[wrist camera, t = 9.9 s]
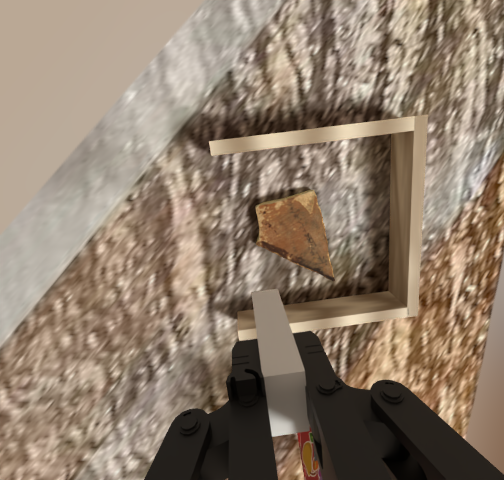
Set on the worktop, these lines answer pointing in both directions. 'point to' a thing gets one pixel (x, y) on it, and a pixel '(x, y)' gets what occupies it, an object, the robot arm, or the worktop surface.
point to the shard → (295, 231)
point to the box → (400, 232)
